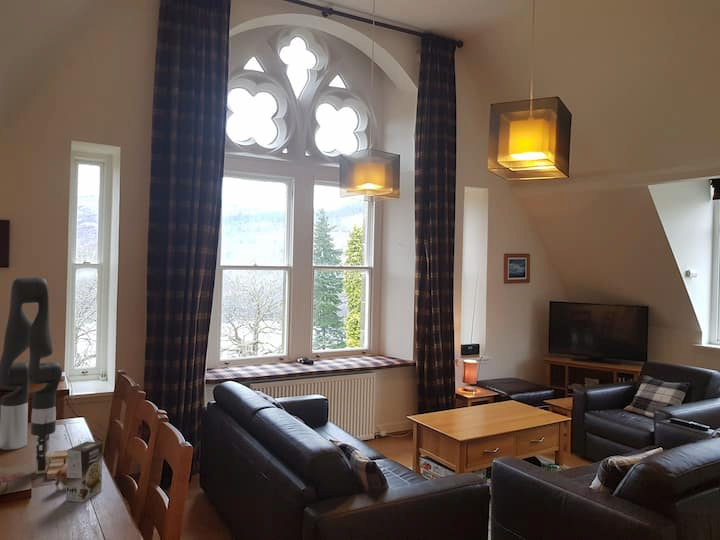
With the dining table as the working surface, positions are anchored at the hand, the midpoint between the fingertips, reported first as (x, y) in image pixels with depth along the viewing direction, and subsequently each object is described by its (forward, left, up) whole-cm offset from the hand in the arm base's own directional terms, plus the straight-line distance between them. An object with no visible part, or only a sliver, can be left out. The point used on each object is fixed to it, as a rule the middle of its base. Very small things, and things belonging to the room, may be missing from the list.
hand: (42, 467), depth 194 cm
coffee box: (+27, +15, -2) cm, 31 cm away
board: (-4, +5, -1) cm, 6 cm away
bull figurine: (+16, +11, -2) cm, 19 cm away
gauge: (0, +3, -1) cm, 3 cm away
